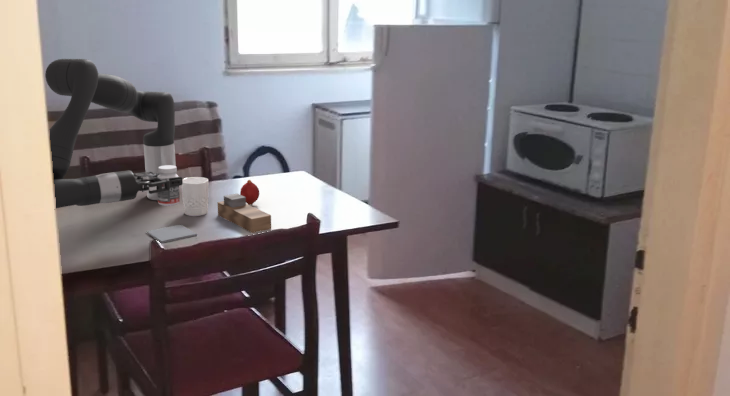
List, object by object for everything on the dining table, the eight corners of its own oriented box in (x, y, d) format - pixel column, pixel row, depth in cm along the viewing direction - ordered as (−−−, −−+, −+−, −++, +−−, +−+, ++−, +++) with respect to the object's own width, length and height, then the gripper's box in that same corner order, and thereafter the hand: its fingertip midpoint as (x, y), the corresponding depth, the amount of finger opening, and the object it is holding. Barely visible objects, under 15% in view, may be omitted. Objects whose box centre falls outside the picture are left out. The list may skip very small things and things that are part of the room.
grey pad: (146, 232, 201) (146, 231, 201) (180, 226, 207) (180, 224, 207) (161, 242, 194) (161, 241, 194) (196, 235, 200) (196, 233, 200)
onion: (241, 202, 231) (240, 177, 228) (260, 202, 231) (259, 177, 229) (240, 207, 225) (239, 182, 223) (259, 207, 225) (258, 181, 223)
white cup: (215, 211, 221) (213, 178, 219) (198, 218, 214) (197, 184, 212) (193, 207, 224) (192, 175, 222) (177, 214, 218) (174, 181, 215)
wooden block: (218, 215, 217) (217, 194, 215) (236, 211, 221) (235, 191, 219) (252, 233, 202) (251, 210, 200) (271, 228, 206) (270, 206, 204)
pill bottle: (174, 207, 195) (172, 170, 192) (154, 205, 196) (152, 168, 193) (183, 201, 200) (182, 165, 197) (164, 199, 201) (162, 163, 198)
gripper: (123, 178, 181) (188, 169, 191) (103, 167, 192) (165, 159, 202) (125, 208, 183) (189, 197, 193) (105, 195, 194) (166, 186, 204)
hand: (176, 178), depth 198 cm, fingers closed on pill bottle, 5 cm apart
